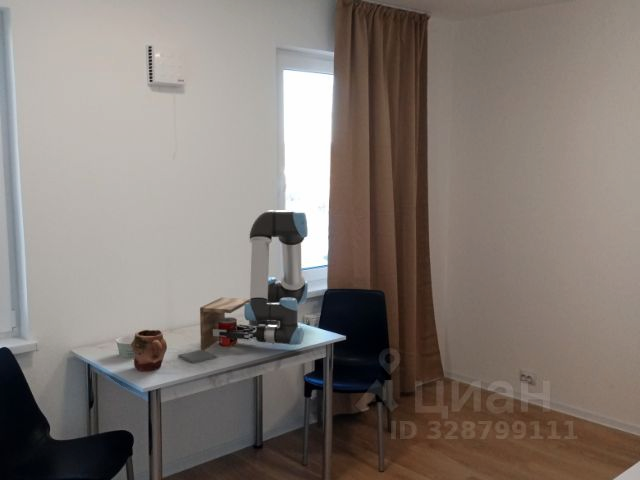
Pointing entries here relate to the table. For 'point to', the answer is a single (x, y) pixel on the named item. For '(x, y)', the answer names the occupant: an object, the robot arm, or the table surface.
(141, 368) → the terracotta animal pitcher
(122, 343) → the food container
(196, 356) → the rubber mat
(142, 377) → the table surface
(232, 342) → the canned food
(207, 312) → the walnut shelf
